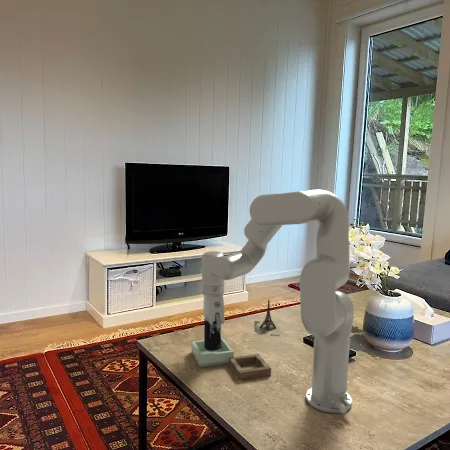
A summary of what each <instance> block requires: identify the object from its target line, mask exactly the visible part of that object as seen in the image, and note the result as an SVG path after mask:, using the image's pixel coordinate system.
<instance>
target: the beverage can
mask: <svg viewBox="0 0 450 450" xmlns="http://www.w3.org/2000/svg"><path fill="white" fill-rule="evenodd" d="M215 323H216V322H213V324H215ZM220 323H221V322H220ZM203 324H204V327H203V329H204V335H203V337H204V338H203V340H204V348H205V349H206V350H207V351H209V352H216V351H218V350H219V349H220V348H221V338H222V329H221V330H220V331H221V332H220V344H214V345H211V333H212V330H211V324H210V323H209V321H208V319H207V317H204V323H203ZM221 324H222V323H221ZM215 327H216V325H215V326H214V328H215Z"/></svg>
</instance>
